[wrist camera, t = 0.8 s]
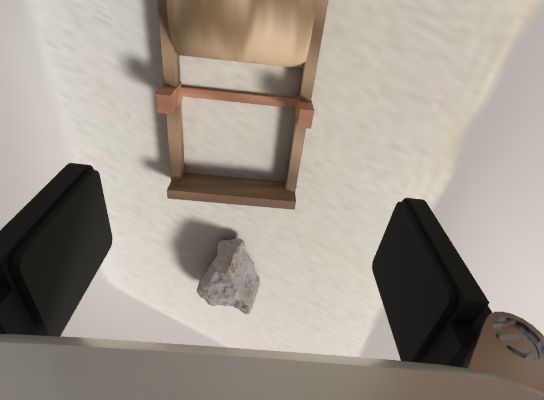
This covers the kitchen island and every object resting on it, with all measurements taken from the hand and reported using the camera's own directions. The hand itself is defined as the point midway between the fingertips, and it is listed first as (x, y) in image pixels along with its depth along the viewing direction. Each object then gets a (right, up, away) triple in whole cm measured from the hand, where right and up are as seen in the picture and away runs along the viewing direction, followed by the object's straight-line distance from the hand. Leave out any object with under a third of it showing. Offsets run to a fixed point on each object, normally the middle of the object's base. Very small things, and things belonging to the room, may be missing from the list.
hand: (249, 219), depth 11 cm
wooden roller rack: (-2, +14, +25) cm, 28 cm away
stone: (-4, -4, +31) cm, 31 cm away
